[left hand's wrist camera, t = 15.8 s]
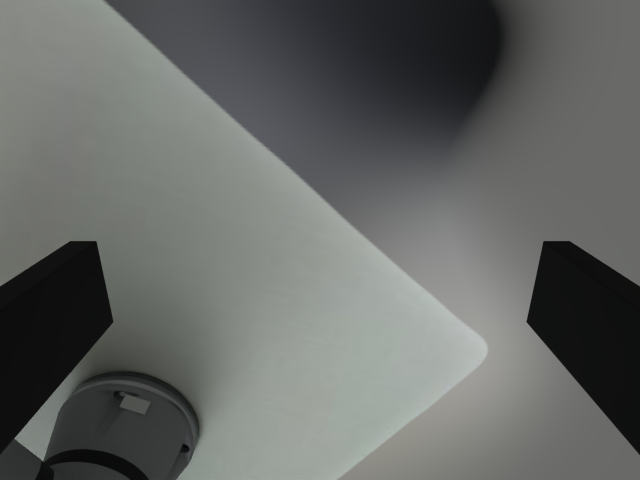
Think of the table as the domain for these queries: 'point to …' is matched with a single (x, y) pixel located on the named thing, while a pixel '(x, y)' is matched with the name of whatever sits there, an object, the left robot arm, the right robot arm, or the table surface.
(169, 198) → the table surface
